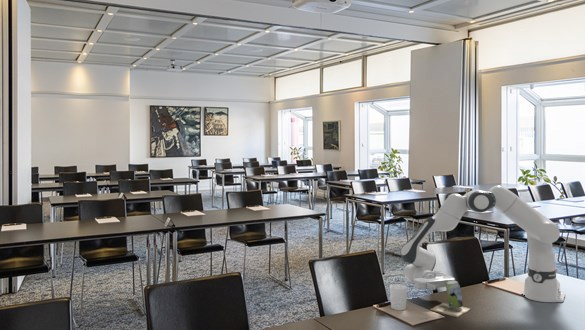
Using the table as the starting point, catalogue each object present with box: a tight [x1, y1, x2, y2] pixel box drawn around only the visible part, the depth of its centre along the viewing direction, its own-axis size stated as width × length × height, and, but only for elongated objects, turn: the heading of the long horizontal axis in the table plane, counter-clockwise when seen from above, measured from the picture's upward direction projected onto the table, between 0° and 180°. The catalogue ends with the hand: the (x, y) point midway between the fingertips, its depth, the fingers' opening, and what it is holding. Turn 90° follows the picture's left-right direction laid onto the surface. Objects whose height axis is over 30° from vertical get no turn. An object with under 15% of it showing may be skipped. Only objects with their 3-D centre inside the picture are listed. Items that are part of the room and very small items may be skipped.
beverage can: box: [445, 280, 464, 309], centre depth 218 cm, size 6×7×12 cm
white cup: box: [389, 283, 408, 311], centre depth 220 cm, size 8×8×10 cm
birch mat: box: [429, 302, 472, 318], centre depth 216 cm, size 13×13×1 cm
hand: (444, 287), depth 220 cm, fingers open, 8 cm apart
